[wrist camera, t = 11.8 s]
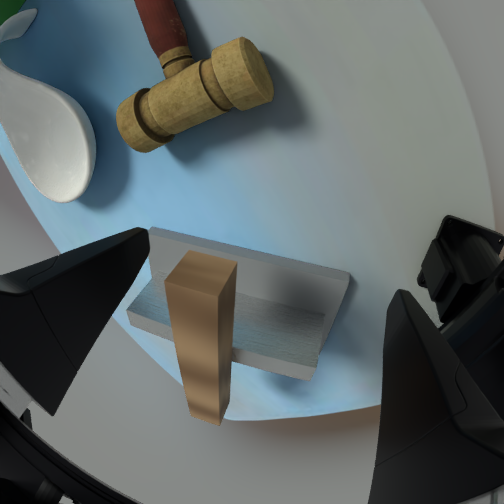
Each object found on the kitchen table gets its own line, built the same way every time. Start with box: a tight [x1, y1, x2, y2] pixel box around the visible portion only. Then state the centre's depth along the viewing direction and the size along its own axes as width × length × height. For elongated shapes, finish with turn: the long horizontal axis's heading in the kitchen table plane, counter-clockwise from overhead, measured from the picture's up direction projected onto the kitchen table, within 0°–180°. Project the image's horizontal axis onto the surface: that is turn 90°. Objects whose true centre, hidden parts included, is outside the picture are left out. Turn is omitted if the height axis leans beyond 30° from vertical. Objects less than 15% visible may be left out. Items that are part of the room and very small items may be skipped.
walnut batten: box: [164, 250, 237, 426], centre depth 21 cm, size 18×3×3 cm, turn 175°
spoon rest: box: [0, 8, 96, 203], centre depth 18 cm, size 24×12×7 cm, turn 26°
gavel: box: [116, 0, 274, 153], centre depth 14 cm, size 21×5×10 cm
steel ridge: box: [126, 270, 325, 381], centre depth 24 cm, size 16×2×6 cm, turn 85°
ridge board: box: [148, 227, 349, 355], centre depth 27 cm, size 18×10×1 cm, turn 85°
